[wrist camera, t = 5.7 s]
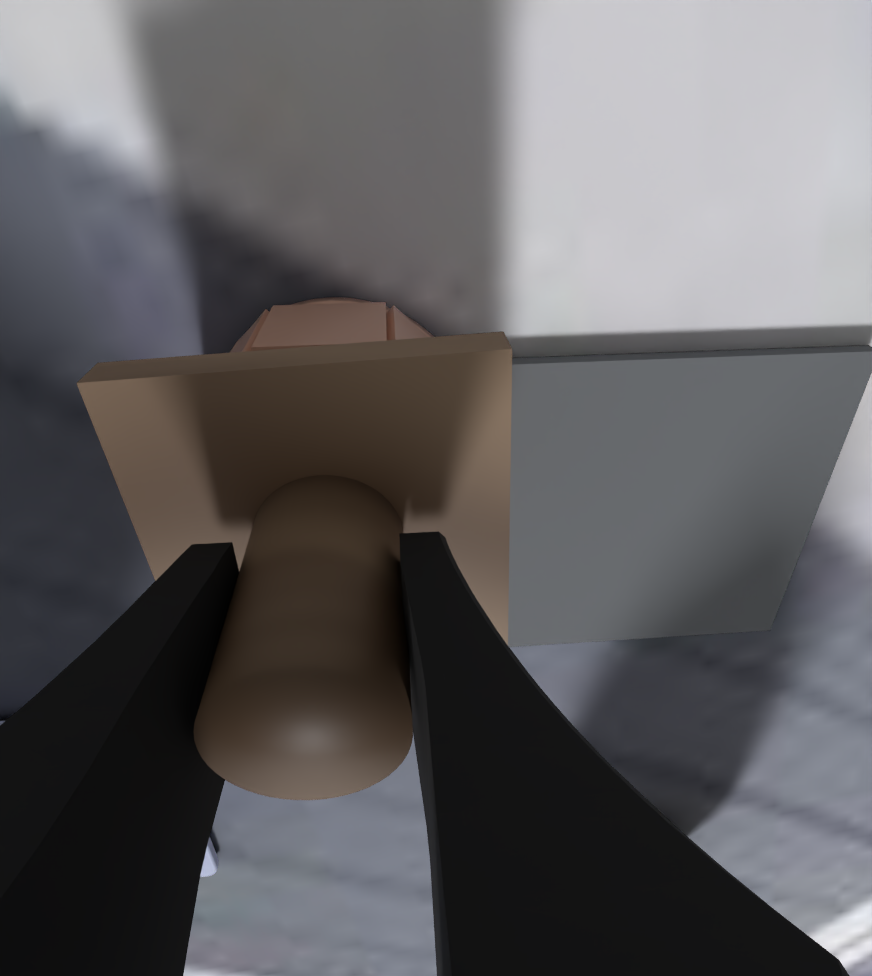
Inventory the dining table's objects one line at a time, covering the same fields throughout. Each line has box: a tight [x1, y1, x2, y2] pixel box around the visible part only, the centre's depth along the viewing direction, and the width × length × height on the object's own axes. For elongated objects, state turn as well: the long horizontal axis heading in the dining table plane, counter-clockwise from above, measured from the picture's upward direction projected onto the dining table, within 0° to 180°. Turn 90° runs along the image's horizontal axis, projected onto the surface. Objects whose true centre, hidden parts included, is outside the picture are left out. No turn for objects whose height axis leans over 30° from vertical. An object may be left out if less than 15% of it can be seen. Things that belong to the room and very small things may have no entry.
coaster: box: [508, 345, 872, 647], centre depth 17 cm, size 9×9×1 cm
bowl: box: [229, 297, 434, 353], centre depth 13 cm, size 6×6×3 cm
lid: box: [77, 332, 512, 800], centre depth 9 cm, size 6×6×5 cm
